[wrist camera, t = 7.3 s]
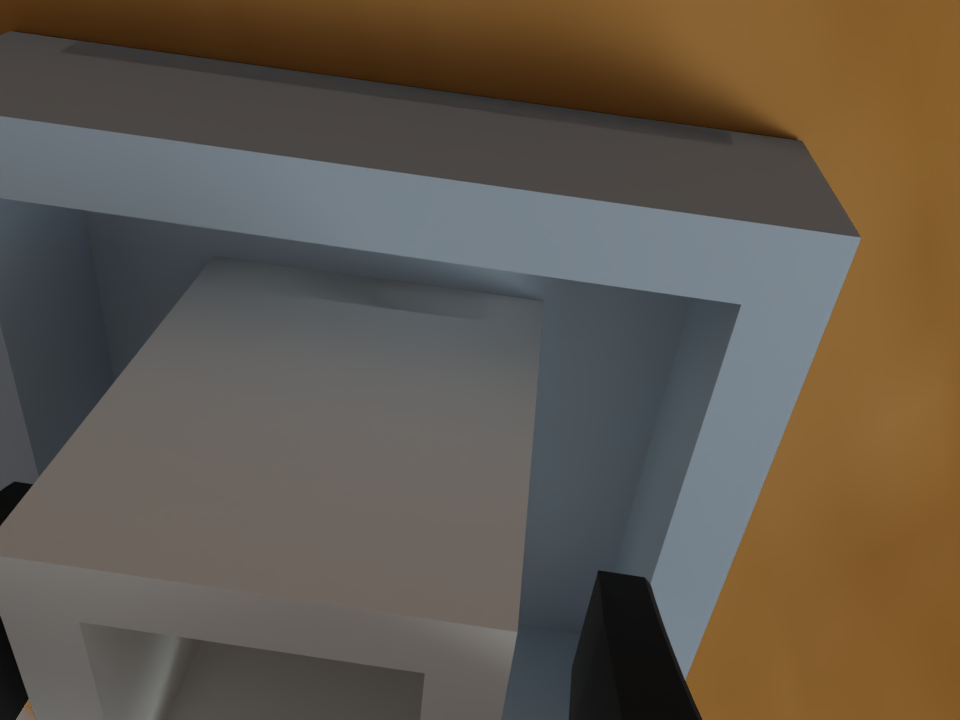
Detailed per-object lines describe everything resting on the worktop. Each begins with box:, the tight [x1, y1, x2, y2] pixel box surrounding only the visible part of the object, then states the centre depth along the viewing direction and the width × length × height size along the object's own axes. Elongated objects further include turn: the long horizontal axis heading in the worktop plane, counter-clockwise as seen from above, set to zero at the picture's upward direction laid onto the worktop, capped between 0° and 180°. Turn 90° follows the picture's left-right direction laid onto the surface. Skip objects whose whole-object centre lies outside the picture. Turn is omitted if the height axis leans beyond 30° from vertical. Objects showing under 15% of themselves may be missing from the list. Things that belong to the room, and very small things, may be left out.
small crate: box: [0, 257, 544, 720], centre depth 12 cm, size 5×5×6 cm
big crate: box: [0, 31, 861, 720], centre depth 14 cm, size 11×11×3 cm
